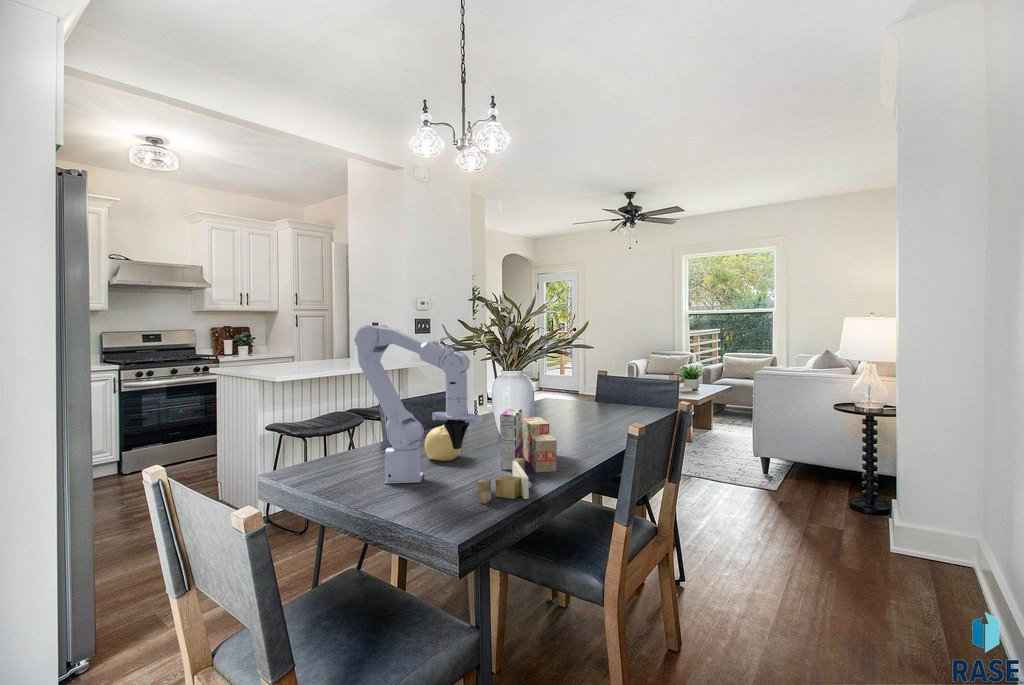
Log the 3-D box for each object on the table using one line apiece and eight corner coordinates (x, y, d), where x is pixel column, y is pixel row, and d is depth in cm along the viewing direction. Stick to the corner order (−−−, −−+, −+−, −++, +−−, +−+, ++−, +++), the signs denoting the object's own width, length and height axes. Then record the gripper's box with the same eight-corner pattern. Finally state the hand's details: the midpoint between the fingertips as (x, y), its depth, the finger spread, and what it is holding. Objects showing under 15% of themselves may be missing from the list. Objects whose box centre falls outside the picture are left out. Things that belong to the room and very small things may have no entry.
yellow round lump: (460, 463, 149) (459, 428, 149) (421, 463, 150) (420, 429, 149) (464, 454, 161) (464, 421, 160) (428, 454, 161) (428, 421, 161)
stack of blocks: (556, 471, 140) (556, 429, 140) (535, 473, 140) (535, 430, 139) (541, 453, 162) (540, 416, 161) (522, 454, 161) (522, 416, 160)
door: (523, 498, 117) (523, 478, 117) (512, 479, 132) (512, 461, 132) (532, 498, 118) (532, 477, 118) (520, 479, 133) (520, 461, 132)
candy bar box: (507, 460, 153) (507, 408, 152) (523, 460, 152) (523, 408, 152) (499, 470, 142) (499, 414, 142) (516, 471, 141) (516, 414, 141)
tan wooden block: (495, 497, 119) (495, 479, 119) (502, 492, 123) (502, 474, 123) (514, 500, 117) (514, 482, 117) (520, 495, 121) (520, 477, 121)
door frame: (477, 502, 116) (477, 481, 116) (518, 475, 137) (517, 457, 137) (485, 503, 115) (484, 482, 115) (524, 476, 136) (524, 458, 136)
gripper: (425, 398, 129) (426, 449, 130) (472, 401, 123) (473, 454, 124) (440, 394, 136) (440, 443, 136) (486, 397, 130) (486, 448, 130)
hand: (457, 448), depth 130 cm, fingers closed
